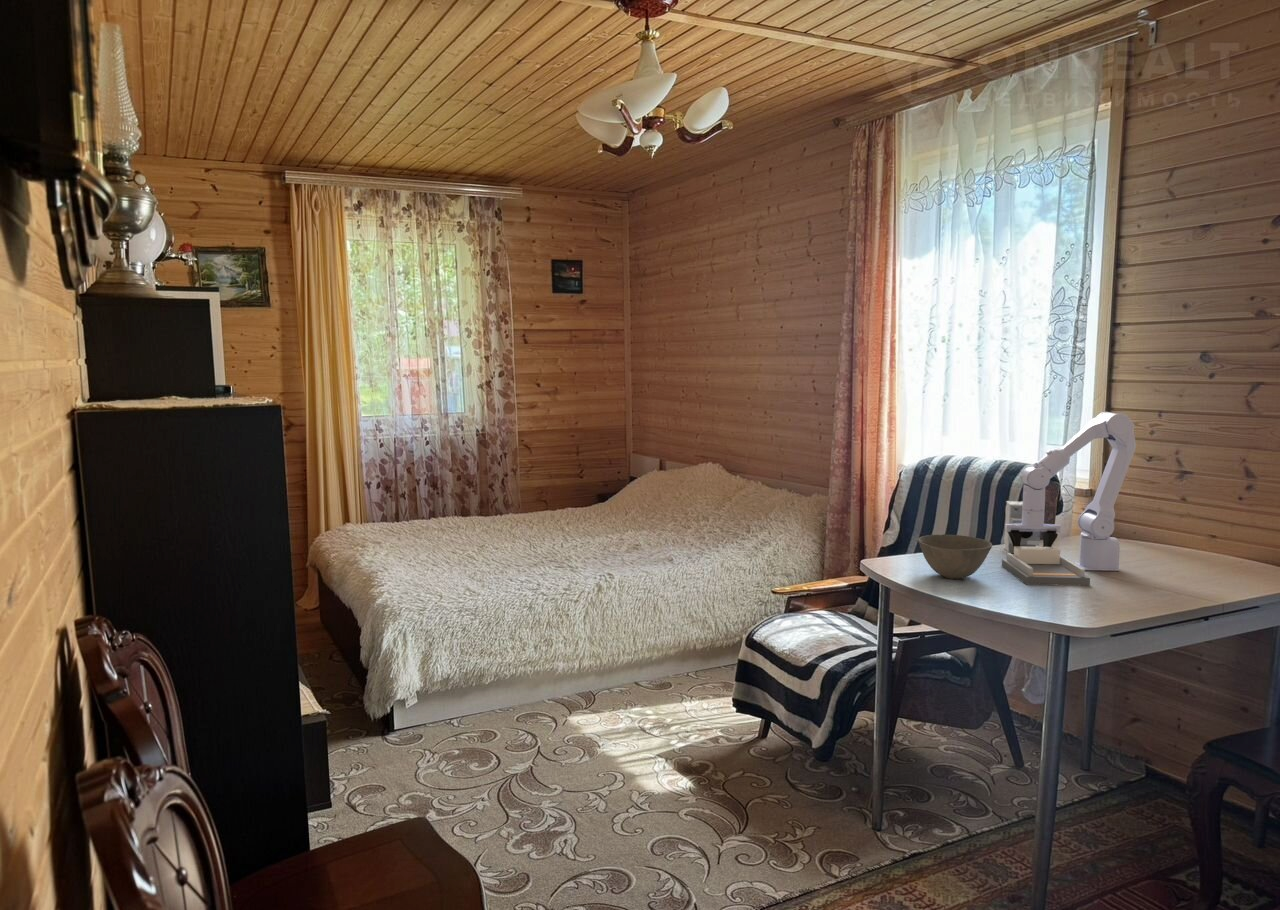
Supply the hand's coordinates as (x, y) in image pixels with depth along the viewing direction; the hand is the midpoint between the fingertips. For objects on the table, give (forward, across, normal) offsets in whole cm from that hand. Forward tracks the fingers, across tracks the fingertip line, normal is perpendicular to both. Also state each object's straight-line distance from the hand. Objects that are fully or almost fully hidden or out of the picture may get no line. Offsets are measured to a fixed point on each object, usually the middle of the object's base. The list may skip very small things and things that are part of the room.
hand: (1031, 556), depth 239 cm
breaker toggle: (+1, 0, +4) cm, 4 cm away
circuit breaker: (+3, -3, -17) cm, 18 cm away
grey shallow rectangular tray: (+3, 0, +10) cm, 10 cm away
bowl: (+3, +25, +14) cm, 29 cm away
